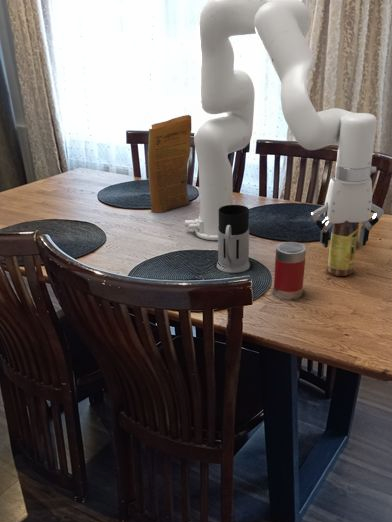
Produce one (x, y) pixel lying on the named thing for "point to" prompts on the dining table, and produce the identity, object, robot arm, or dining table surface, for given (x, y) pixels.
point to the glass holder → (233, 238)
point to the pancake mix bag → (169, 163)
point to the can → (289, 270)
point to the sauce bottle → (342, 248)
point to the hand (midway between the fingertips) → (343, 244)
